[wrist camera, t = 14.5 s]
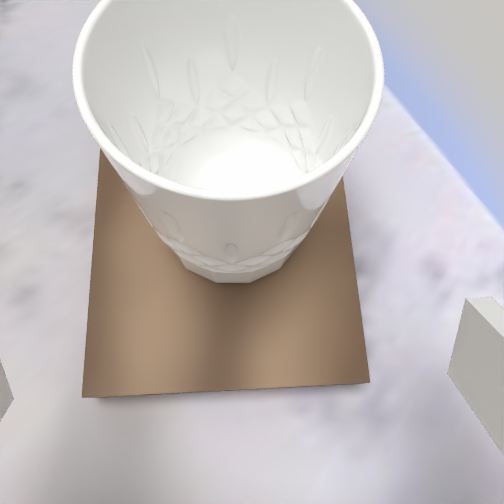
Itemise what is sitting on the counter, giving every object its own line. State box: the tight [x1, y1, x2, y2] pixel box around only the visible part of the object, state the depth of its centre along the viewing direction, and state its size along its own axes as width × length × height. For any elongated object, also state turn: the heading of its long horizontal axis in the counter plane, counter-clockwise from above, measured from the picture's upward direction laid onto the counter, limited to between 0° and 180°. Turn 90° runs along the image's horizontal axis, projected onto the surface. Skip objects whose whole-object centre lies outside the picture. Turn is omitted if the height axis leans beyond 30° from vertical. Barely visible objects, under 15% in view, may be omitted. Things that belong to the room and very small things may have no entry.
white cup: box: [72, 0, 384, 283], centre depth 15 cm, size 8×8×10 cm
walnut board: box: [82, 148, 370, 398], centre depth 21 cm, size 12×16×2 cm
